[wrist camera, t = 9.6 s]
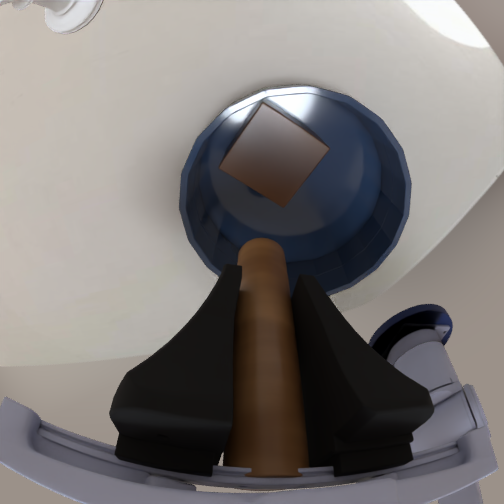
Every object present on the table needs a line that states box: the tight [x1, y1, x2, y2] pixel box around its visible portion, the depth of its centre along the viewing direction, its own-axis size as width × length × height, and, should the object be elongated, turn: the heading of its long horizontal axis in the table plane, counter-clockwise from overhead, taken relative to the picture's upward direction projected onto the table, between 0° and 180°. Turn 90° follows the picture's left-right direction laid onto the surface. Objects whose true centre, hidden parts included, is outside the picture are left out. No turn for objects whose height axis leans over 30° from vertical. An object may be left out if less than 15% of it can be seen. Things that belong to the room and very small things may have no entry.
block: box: [219, 99, 330, 208], centre depth 16 cm, size 4×4×4 cm
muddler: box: [223, 238, 310, 491], centre depth 11 cm, size 2×2×11 cm
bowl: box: [179, 84, 412, 297], centre depth 17 cm, size 13×13×4 cm
